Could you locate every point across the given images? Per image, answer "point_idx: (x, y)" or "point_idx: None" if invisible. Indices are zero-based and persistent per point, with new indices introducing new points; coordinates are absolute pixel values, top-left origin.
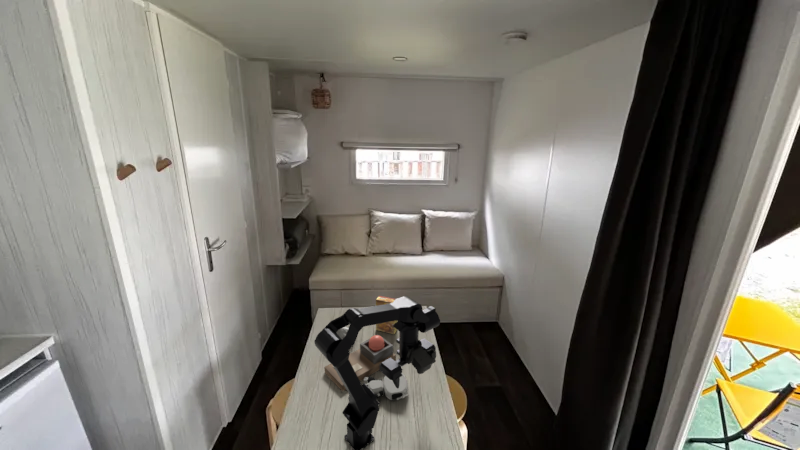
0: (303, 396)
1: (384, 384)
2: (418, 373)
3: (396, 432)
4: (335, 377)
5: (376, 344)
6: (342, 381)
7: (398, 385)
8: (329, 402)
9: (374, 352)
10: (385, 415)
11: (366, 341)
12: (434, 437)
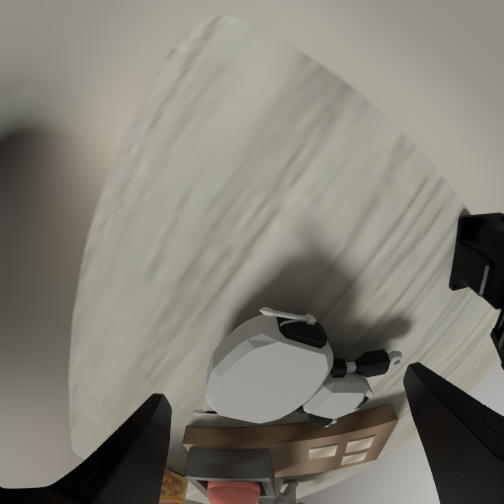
0: None
1: (312, 395)
2: (167, 401)
3: (394, 189)
4: (386, 438)
5: (244, 499)
6: None
7: (437, 382)
8: None
9: None
10: (374, 282)
11: None
12: (271, 64)
